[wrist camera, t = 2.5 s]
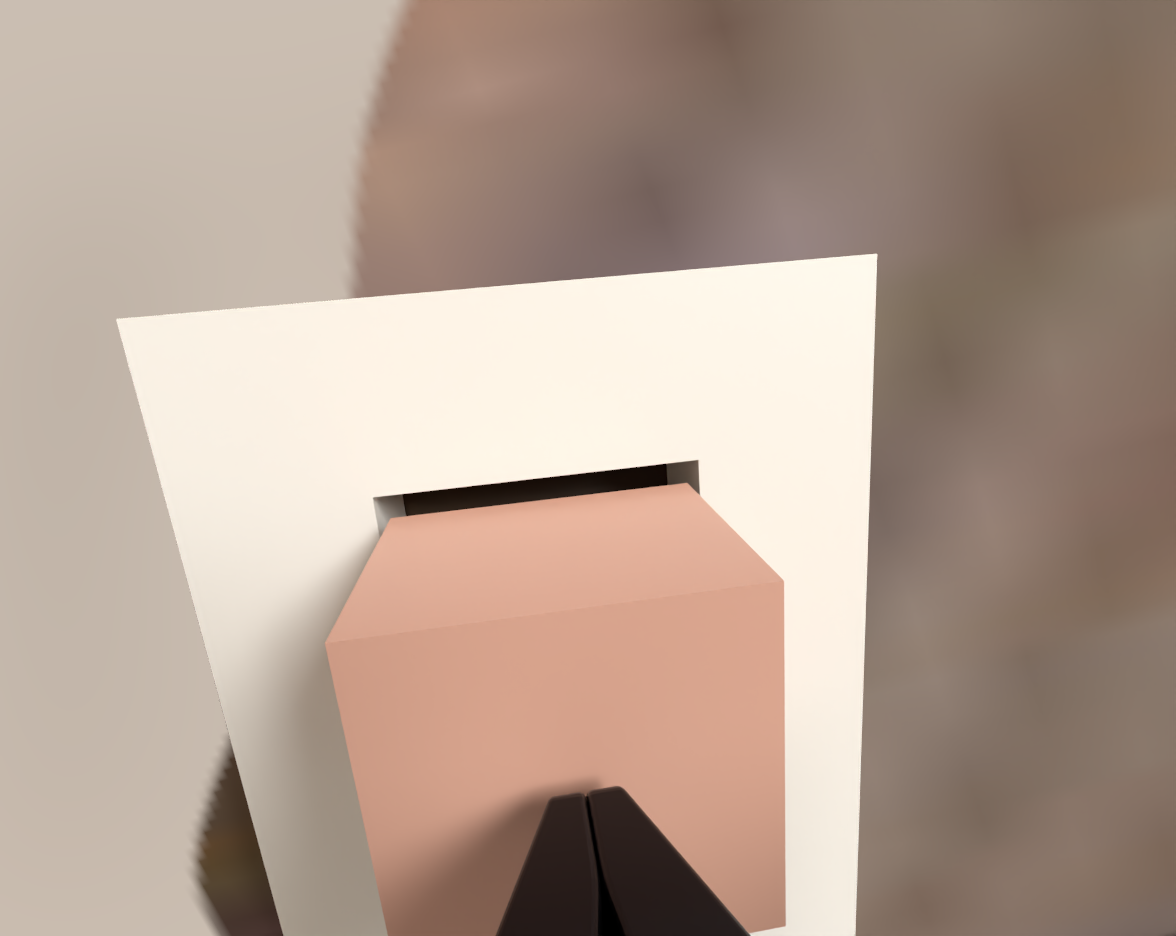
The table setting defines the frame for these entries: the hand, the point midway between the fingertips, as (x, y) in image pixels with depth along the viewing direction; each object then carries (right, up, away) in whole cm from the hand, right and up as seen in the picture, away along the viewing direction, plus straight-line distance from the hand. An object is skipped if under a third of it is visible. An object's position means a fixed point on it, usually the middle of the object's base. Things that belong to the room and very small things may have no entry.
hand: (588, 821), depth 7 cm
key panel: (0, -4, +8) cm, 9 cm away
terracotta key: (-1, +1, +4) cm, 4 cm away
